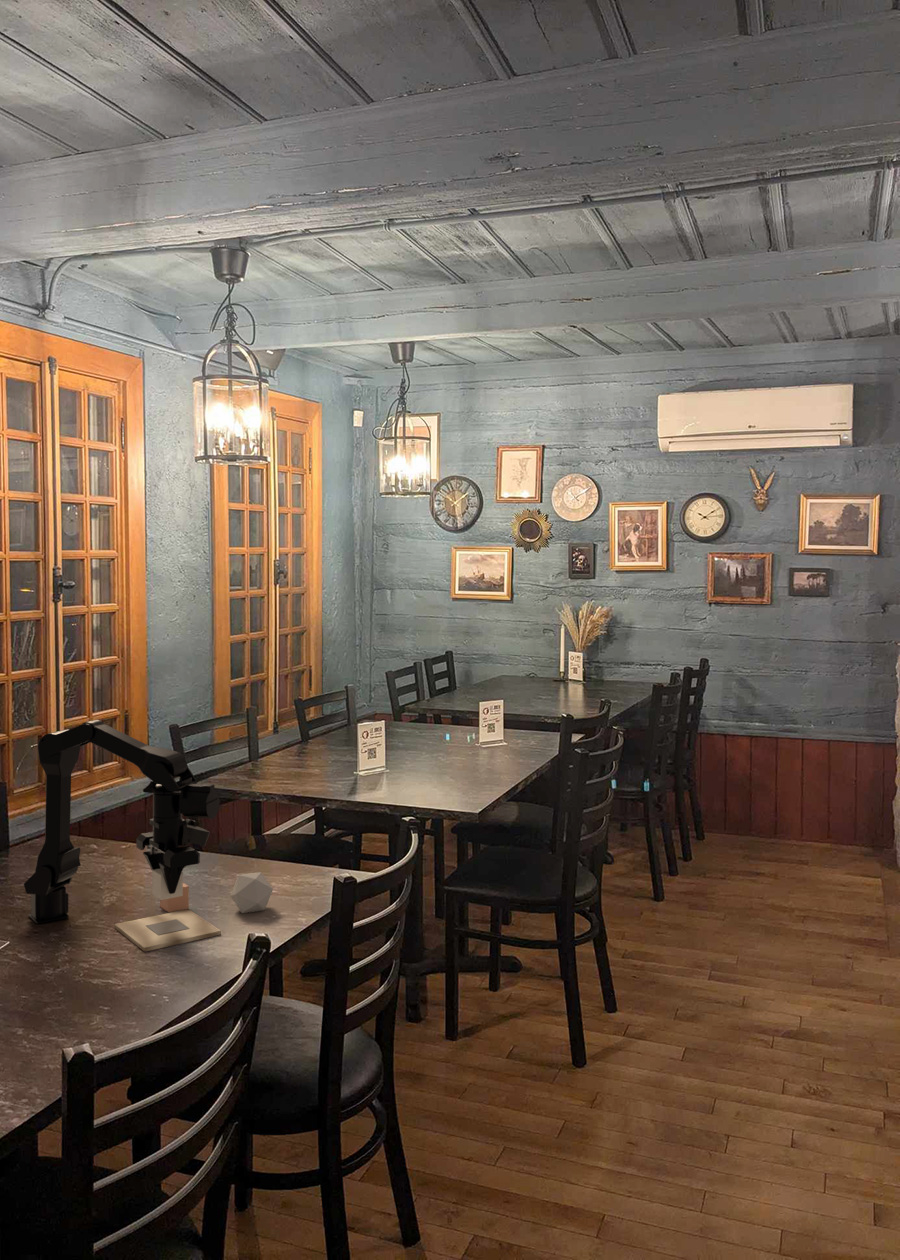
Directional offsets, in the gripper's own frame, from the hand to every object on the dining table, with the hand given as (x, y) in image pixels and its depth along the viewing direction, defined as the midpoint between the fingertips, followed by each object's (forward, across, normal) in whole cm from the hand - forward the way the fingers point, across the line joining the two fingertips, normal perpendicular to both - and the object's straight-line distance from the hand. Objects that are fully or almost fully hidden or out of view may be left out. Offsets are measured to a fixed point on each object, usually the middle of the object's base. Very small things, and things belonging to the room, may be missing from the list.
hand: (167, 890), depth 206 cm
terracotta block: (+9, +13, -7) cm, 17 cm away
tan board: (+8, 0, 0) cm, 9 cm away
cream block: (+1, 0, 0) cm, 1 cm away
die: (+9, +2, -20) cm, 22 cm away
